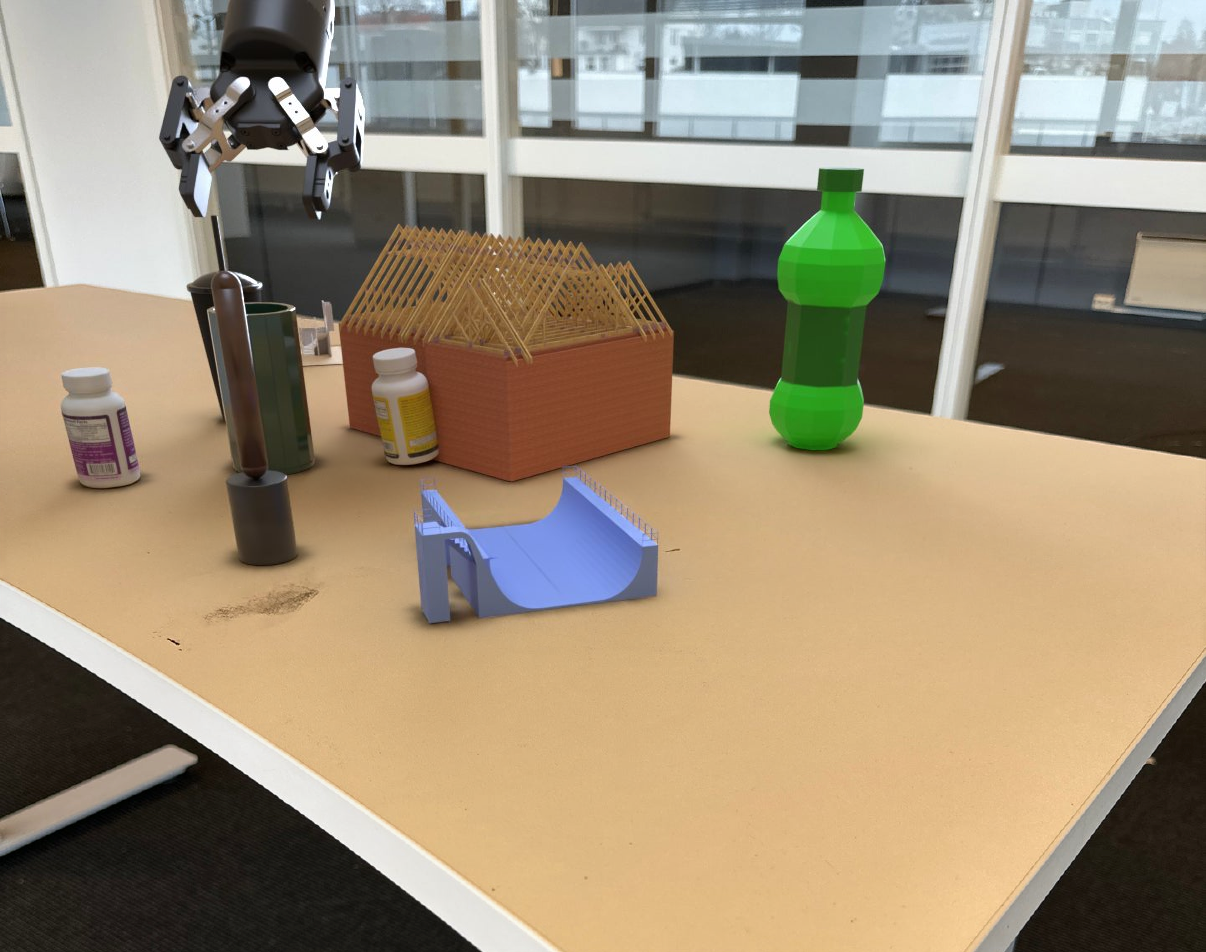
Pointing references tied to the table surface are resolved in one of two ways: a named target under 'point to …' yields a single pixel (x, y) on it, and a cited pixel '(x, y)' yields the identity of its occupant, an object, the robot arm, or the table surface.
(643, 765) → the table surface
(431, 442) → the supplement bottle
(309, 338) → the architectural model
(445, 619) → the half pipe
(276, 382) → the green utensil holder
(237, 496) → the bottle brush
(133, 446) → the pill bottle
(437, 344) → the house
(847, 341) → the plastic bottle
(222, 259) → the drinking cup
